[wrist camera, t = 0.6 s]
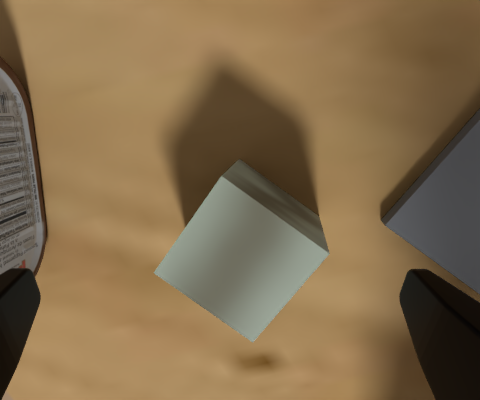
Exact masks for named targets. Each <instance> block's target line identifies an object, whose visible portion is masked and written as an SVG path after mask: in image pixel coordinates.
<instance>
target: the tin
mask: <svg viewBox="0 0 480 400" xmlns="http://www.w3.org/2000/svg"><path fill="white" fill-rule="evenodd" d="M45 244H46V220H45V212H44V204H43V196H42V188H41V179H40V171H39V163H38V156H37V148H36V140H35V132H34V124H33V117H32V112H31V107H30V104H29V100H28V98H27V95H26V92H25V90H24V88H23V86H22V84H21V82H20V80H19V78H18V77H17V75H16V74H15V72H14V71H13V70H12V68H11V67H10V66H9V65H8V64H7V63H6V62H5V61H4V60H3V59H2V58H1V57H0V274H2V273H4V272H5V271H7V270H9V269H11V268H29V269H31V270H32V272H33V274H34V277H35V276H36V274H37V272H38V270H39V267H40V265H41V262H42V259H43V255H44V250H45Z"/></svg>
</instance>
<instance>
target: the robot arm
mask: <svg viewBox="0 0 480 400" xmlns="http://www.w3.org/2000/svg"><path fill="white" fill-rule="evenodd" d="M39 304H40V291H39V288H38V285H37V283H36V280H35V277H34V274H33V272H32V270H31V269H29V268H11V269H9V270H7V271H5V272H4V273H2V274H0V400H2V397H3V395H4V393H5V391H6V389H7V387H8V385H9V383H10V381H11V379H12V376H13V374H14V372H15V370H16V368H17V365H18V363H19V360H20V358H21V355H22V352H23V349H24V347H25V344H26V341H27V338H28V335H29V332H30V330H31V327H32V324H33V321H34V318H35V316H36V313H37V310H38V307H39ZM400 304H401V307H402V310H403V313H404V316H405V320H406V323H407V326H408V329H409V332H410V335H411V338H412V341H413V345H414V348H415V351H416V354H417V357H418V359H419V362H420V365H421V367H422V369H423V372H424V374H425V376H426V379H427V381H428V383H429V386H430V388H431V390H432V392H433V395H434V397H435V399H436V400H480V303H479V302H478V301H476V300H475V299H473V298H471V297H470V296H468V295H467V294H465V293H464V292H462V291H461V290H459V289H457V288H456V287H454V286H453V285H451V284H450V283H448V282H446V281H445V280H443V279H442V278H440V277H439V276H437V275H436V274H434V273H432V272H431V271H429V270H427V269H411V270H409V271H408V272H407V274H406V277H405V280H404V283H403V286H402V289H401V292H400Z"/></svg>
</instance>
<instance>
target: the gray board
mask: <svg viewBox="0 0 480 400" xmlns="http://www.w3.org/2000/svg"><path fill="white" fill-rule="evenodd" d="M381 221H382V222H383V224H384V225H385V226H387V227H388V228H389V229H391V230H392V231H393V232H395V233H396V234H398V235H399V236H400V237H402V238H403V239H404V240H406V241H407V242H409V243H410V244H411V245H413V246H414V247H415V248H417V249H418V250H420V251H421V252H422V253H424V254H425V255H426V256H428V257H429V258H431V259H432V260H433V261H435V262H436V263H437V264H439V265H440V266H442V267H443V268H444V269H446V270H447V271H448V272H450V273H451V274H453V275H454V276H455V277H457V278H458V279H459V280H461V281H462V282H464V283H465V284H466V285H468V286H469V287H470V288H472V289H473V290H475V291H476V292H477V293H479V294H480V109H479V110H478V111H477V112H476V114H475V115H474V116H473V117H472V118H471V119H470V120H469V121H468V123H467V124H466V125H465V126H464V127H463V128H462V129H461V130H460V132H459V133H458V134H457V135H456V136H455V137H454V138H453V139H452V141H451V142H450V143H449V144H448V145H447V146H446V147H445V148H444V150H443V151H442V152H441V153H440V154H439V155H438V156H437V158H436V159H435V160H434V161H433V162H432V163H431V164H430V165H429V167H428V168H427V169H426V170H425V171H424V172H423V173H422V174H421V176H420V177H419V178H418V179H417V180H416V181H415V182H414V183H413V185H412V186H411V187H410V188H409V189H408V190H407V191H406V192H405V194H404V195H403V196H402V197H401V198H400V199H399V200H398V201H397V203H396V204H395V205H394V206H393V207H392V208H391V209H390V210H389V212H388V213H387V214H386V215H385V216H384V217H383V218H382V219H381Z"/></svg>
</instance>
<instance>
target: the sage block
mask: <svg viewBox="0 0 480 400" xmlns="http://www.w3.org/2000/svg"><path fill="white" fill-rule="evenodd" d="M329 254H330V253H329V250H328V246H327V243H326V239H325V236H324V232H323V228H322V225H321V221H320V218H319V216H318V215H317V214H315V213H314V212H312V211H311V210H310V209H308V208H307V207H305V206H304V205H303V204H301V203H300V202H299V201H297V200H296V199H294V198H293V197H292V196H290V195H289V194H287V193H286V192H285V191H283V190H282V189H281V188H279V187H278V186H276V185H275V184H274V183H272V182H271V181H269V180H268V179H267V178H265V177H264V176H263V175H261V174H260V173H258V172H257V171H256V170H254V169H253V168H251V167H250V166H249V165H247V164H246V163H245V162H243V161H242V160H240V159H238V160H237V161H236V162H235V163H234V164H233V165H232V166H231V167H230V168H229V169H228V170H227V171H226V172H225V173H224V174H223V175H222V176H221V177H220V179H219V180H218V181H217V183H216V184H215V186H214V187H213V189H212V190H211V192H210V193H209V194H208V196H207V197H206V199H205V200H204V202H203V203H202V204H201V206H200V207H199V209H198V210H197V212H196V213H195V214H194V216H193V217H192V219H191V220H190V222H189V223H188V224H187V226H186V227H185V229H184V230H183V232H182V233H181V235H180V236H179V237H178V239H177V240H176V242H175V243H174V245H173V246H172V247H171V249H170V250H169V252H168V253H167V255H166V256H165V257H164V259H163V260H162V262H161V263H160V265H159V266H158V268H157V269H156V270H155V272H154V273H155V274H156V275H157V276H159V277H160V278H162V279H163V280H165V281H166V282H167V283H169V284H170V285H172V286H173V287H175V288H176V289H177V290H179V291H180V292H182V293H183V294H184V295H186V296H187V297H189V298H190V299H192V300H193V301H194V302H196V303H197V304H199V305H200V306H202V307H203V308H204V309H206V310H207V311H209V312H210V313H212V314H213V315H214V316H216V317H217V318H219V319H220V320H221V321H223V322H224V323H226V324H227V325H229V326H230V327H231V328H233V329H234V330H236V331H237V332H239V333H240V334H241V335H243V336H244V337H246V338H247V339H249V340H250V341H251V342H254V340H255V339H256V338H257V337H258V336H259V335H260V333H261V332H262V331H263V330H264V329H265V328H266V327H267V325H268V324H269V323H270V322H271V321H272V320H273V318H274V317H275V316H276V315H277V314H278V313H279V311H280V310H281V309H282V308H283V307H284V306H285V305H286V303H287V302H288V301H289V300H290V299H291V298H292V296H293V295H294V294H295V293H296V292H297V291H298V290H299V288H300V287H301V286H302V285H303V284H304V283H305V281H306V280H307V279H308V278H309V277H310V276H311V274H312V273H313V272H314V271H315V270H316V269H317V268H318V266H319V265H320V264H321V263H322V262H323V261H324V259H325V258H326V257H327V256H328V255H329Z"/></svg>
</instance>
